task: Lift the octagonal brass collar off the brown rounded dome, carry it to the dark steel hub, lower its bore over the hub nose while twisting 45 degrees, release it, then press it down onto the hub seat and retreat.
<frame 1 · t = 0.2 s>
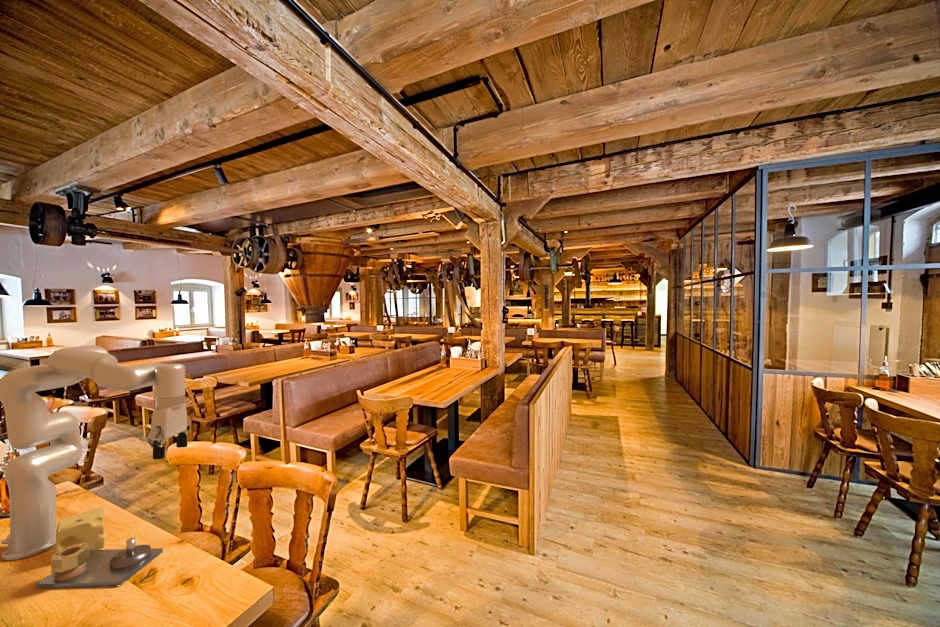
hand: (170, 452, 115), 31 cm above the table, fingers open, 9 cm apart
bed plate: (103, 568, 104), on the table
brown rounded dome: (70, 577, 100), resting on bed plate
collar: (70, 563, 100), point 4 cm above the table, touching brown rounded dome
cheese: (80, 549, 113), on the table
hub: (130, 563, 106), resting on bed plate
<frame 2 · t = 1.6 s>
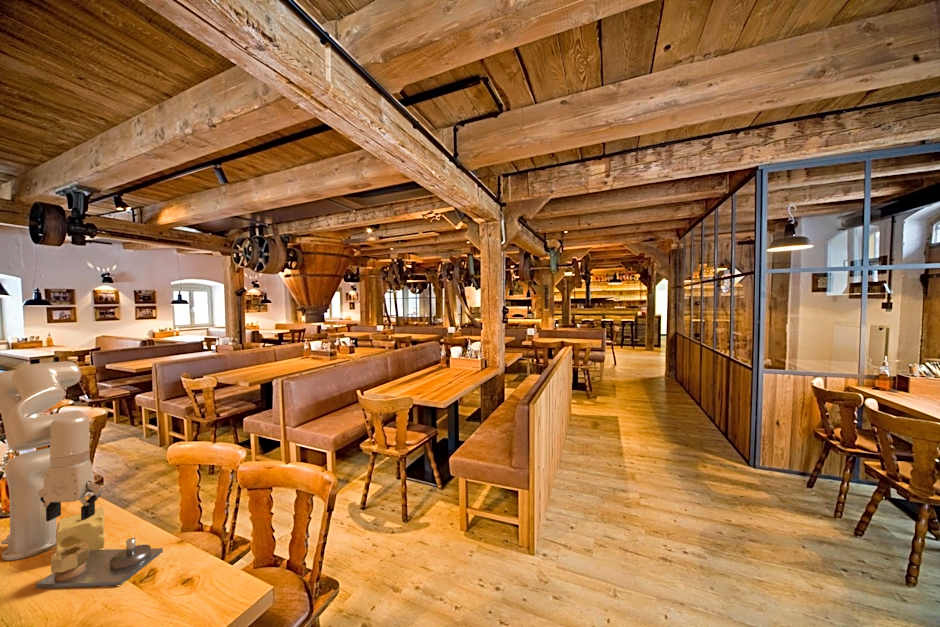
hand: (70, 517, 100), 18 cm above the table, fingers open, 9 cm apart
nothing on the table moved.
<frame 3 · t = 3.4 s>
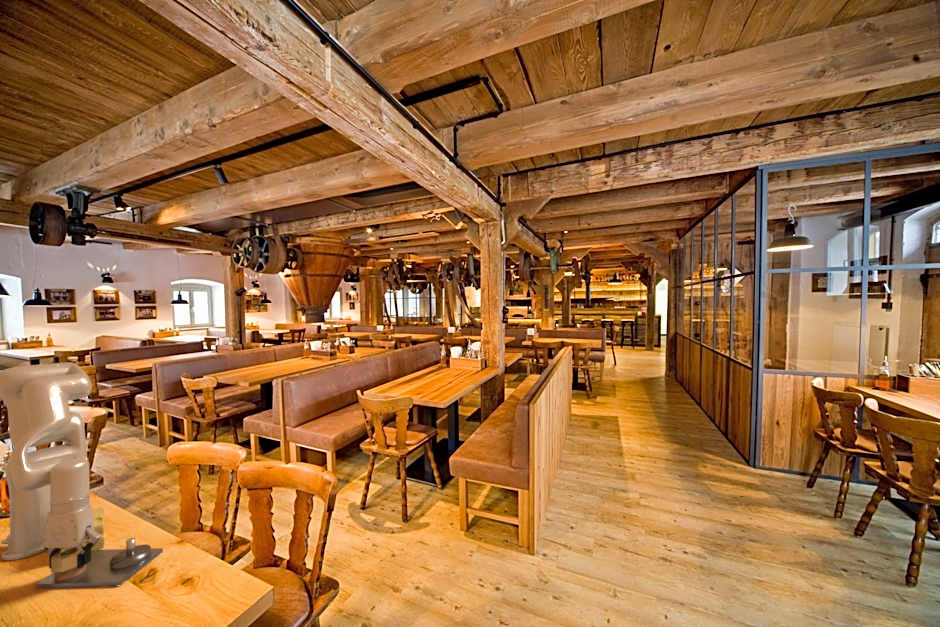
hand: (70, 564, 100), 4 cm above the table, fingers closed on collar, 7 cm apart
collar: (70, 563, 100), point 4 cm above the table, touching gripper, brown rounded dome
everything else where it was.
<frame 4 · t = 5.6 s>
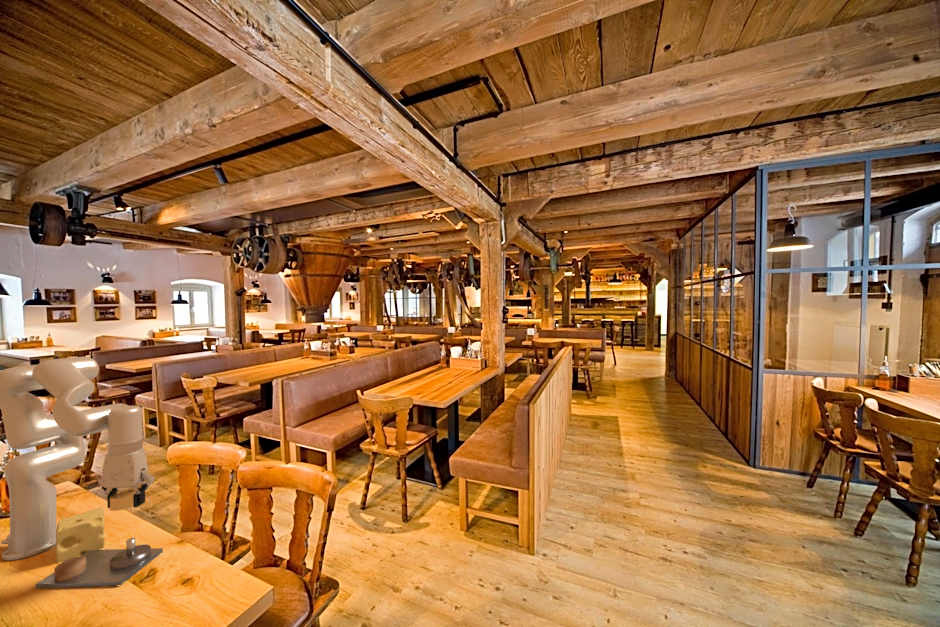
hand: (126, 504, 106), 18 cm above the table, fingers closed on collar, 7 cm apart
collar: (126, 504, 106), point 19 cm above the table, touching gripper
everything else where it was.
when the fingers open (4 cm above the table, at t = 8.1 s): collar drops 1 cm, resting on hub.
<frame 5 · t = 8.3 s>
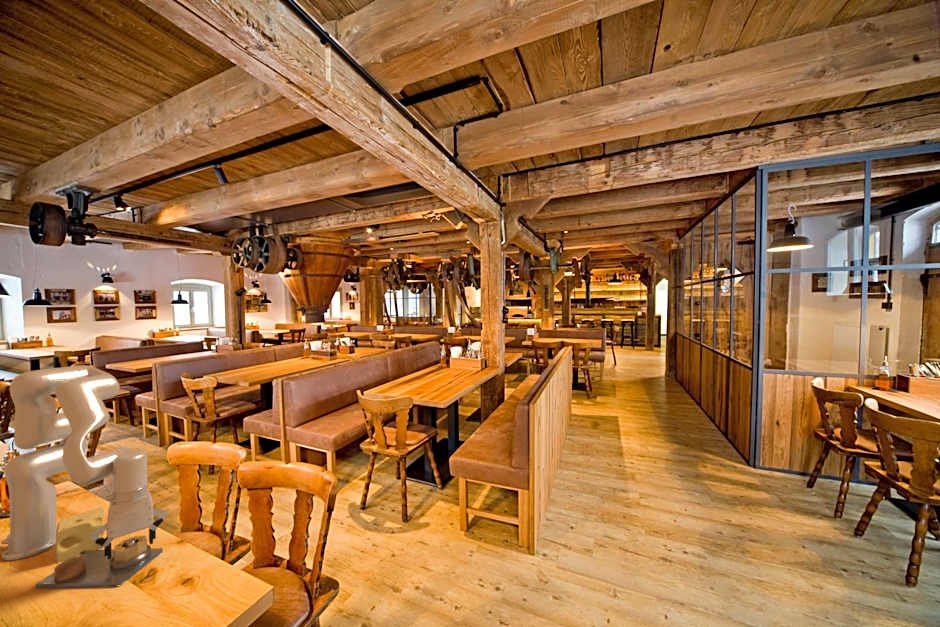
hand: (130, 549, 106), 4 cm above the table, fingers open, 8 cm apart
collar: (130, 554, 106), point 3 cm above the table, touching hub
everything else where it was.
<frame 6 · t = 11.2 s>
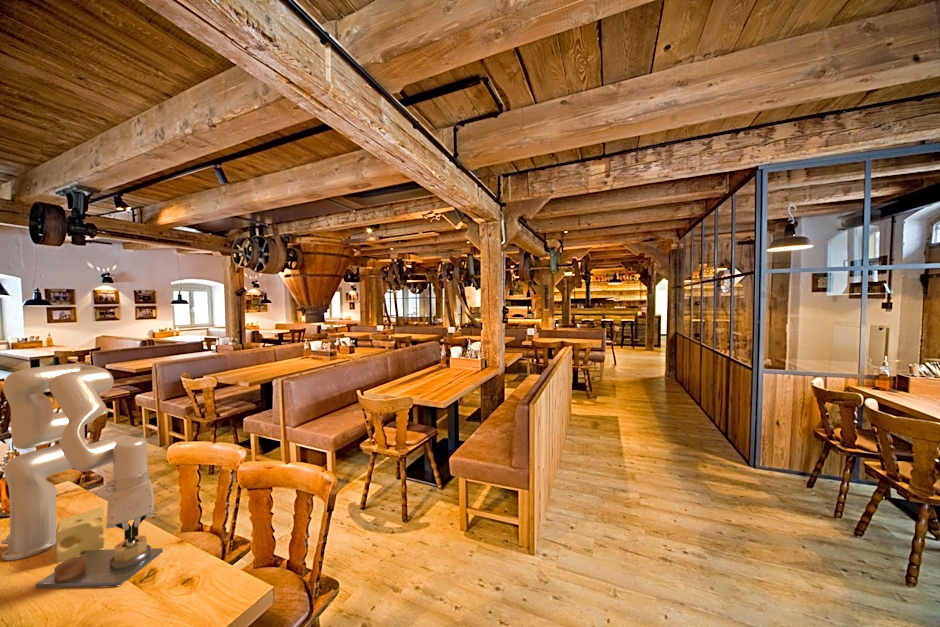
hand: (131, 539, 106), 7 cm above the table, fingers closed
nothing on the table moved.
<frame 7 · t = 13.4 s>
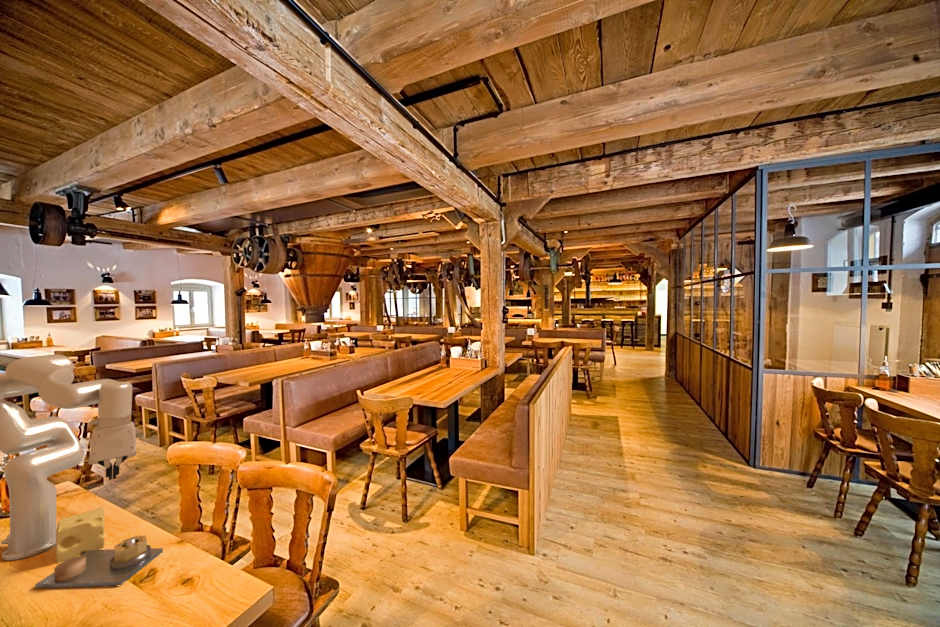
hand: (112, 477, 111), 24 cm above the table, fingers closed
nothing on the table moved.
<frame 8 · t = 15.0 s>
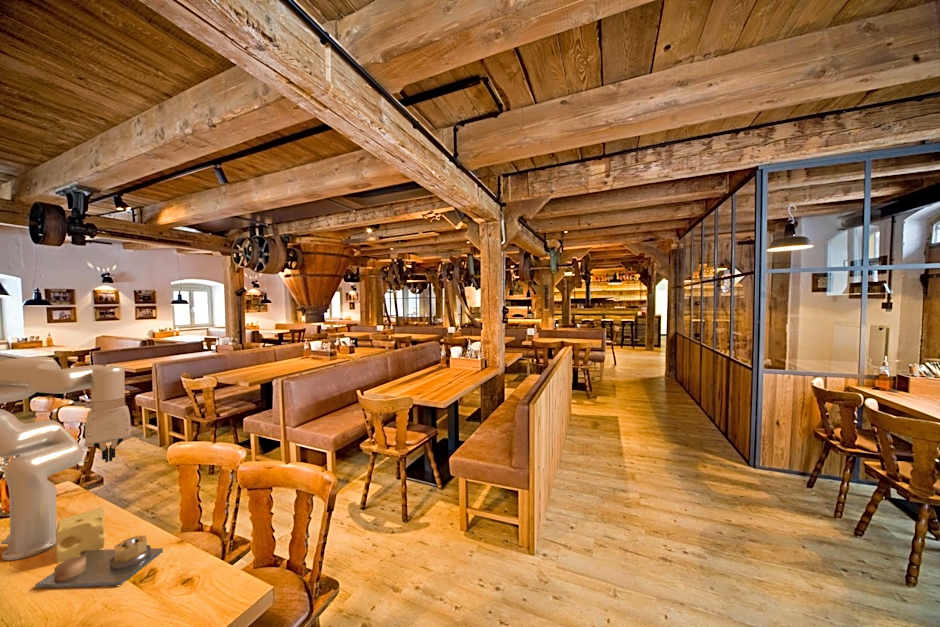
hand: (108, 460, 112), 29 cm above the table, fingers closed
nothing on the table moved.
at the end: collar 0.1 cm off-centre on the hub, point 2.7 cm above the hub's base; the gripper is holding nothing; collar tilted 0° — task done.
